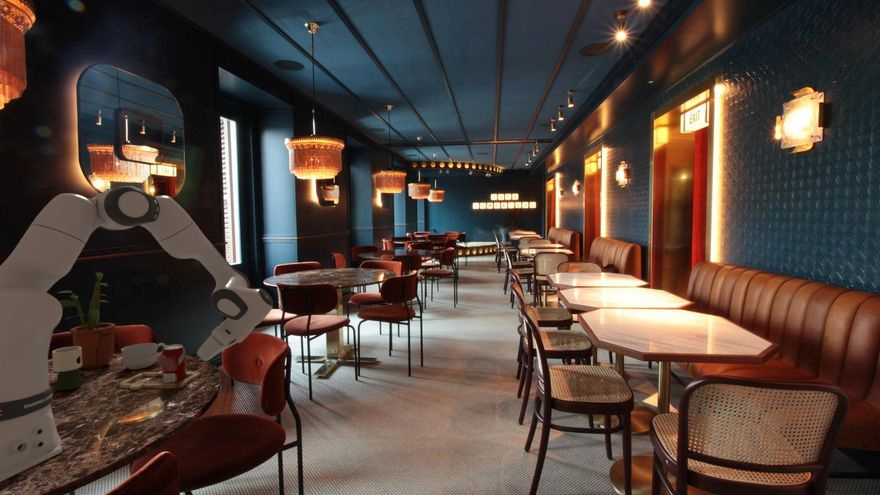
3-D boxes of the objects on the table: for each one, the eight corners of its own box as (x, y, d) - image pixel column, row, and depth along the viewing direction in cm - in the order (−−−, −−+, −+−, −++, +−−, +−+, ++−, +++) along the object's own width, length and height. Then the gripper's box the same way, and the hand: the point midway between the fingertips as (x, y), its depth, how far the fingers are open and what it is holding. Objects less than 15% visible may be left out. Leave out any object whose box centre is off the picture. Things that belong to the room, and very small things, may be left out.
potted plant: (112, 358, 169) (108, 270, 167) (123, 367, 159) (118, 273, 157) (53, 370, 156) (48, 274, 154) (61, 380, 146) (55, 278, 144)
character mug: (83, 391, 136) (81, 351, 135) (53, 397, 132) (50, 355, 131) (83, 381, 145) (81, 343, 144) (55, 386, 140) (53, 347, 139)
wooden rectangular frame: (176, 390, 137) (176, 386, 137) (112, 389, 137) (111, 386, 137) (203, 373, 152) (203, 370, 152) (145, 373, 152) (145, 370, 152)
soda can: (175, 386, 140) (173, 350, 140) (157, 384, 142) (156, 348, 141) (191, 378, 147) (189, 344, 146) (174, 377, 148) (172, 343, 148)
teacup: (120, 374, 152) (119, 351, 151) (124, 365, 161) (123, 344, 160) (166, 367, 159) (165, 346, 158) (167, 359, 168) (167, 339, 168)
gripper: (243, 316, 153) (217, 342, 154) (211, 330, 132) (181, 361, 133) (256, 328, 153) (229, 355, 154) (225, 344, 133) (195, 375, 133)
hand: (207, 358), depth 143 cm, fingers closed
